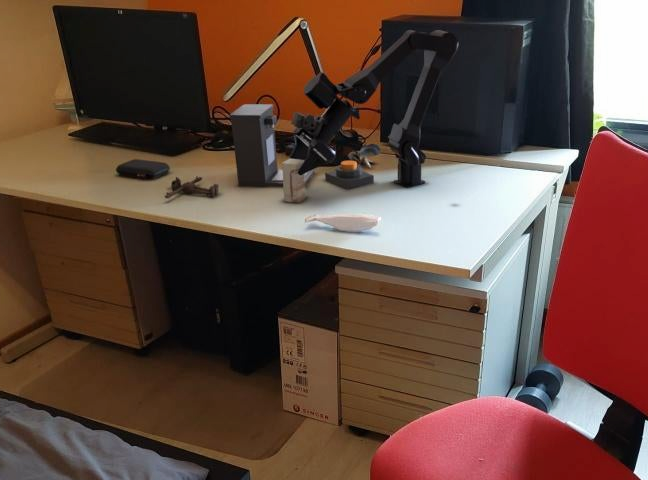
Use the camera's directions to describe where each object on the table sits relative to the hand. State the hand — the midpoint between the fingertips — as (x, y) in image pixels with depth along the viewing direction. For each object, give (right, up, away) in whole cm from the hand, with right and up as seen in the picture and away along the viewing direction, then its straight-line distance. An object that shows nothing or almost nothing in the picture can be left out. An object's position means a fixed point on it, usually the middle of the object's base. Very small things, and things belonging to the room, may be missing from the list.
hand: (293, 169), depth 185 cm
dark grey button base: (+14, +1, +16) cm, 22 cm away
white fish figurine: (+13, -19, -15) cm, 28 cm away
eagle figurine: (+19, +9, +28) cm, 35 cm away
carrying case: (-47, +7, +28) cm, 55 cm away
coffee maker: (-6, +3, +19) cm, 21 cm away
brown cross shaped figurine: (-28, -4, +11) cm, 31 cm away
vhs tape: (+2, +18, +43) cm, 47 cm away
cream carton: (0, -7, +4) cm, 8 cm away
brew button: (+14, +4, +14) cm, 21 cm away
